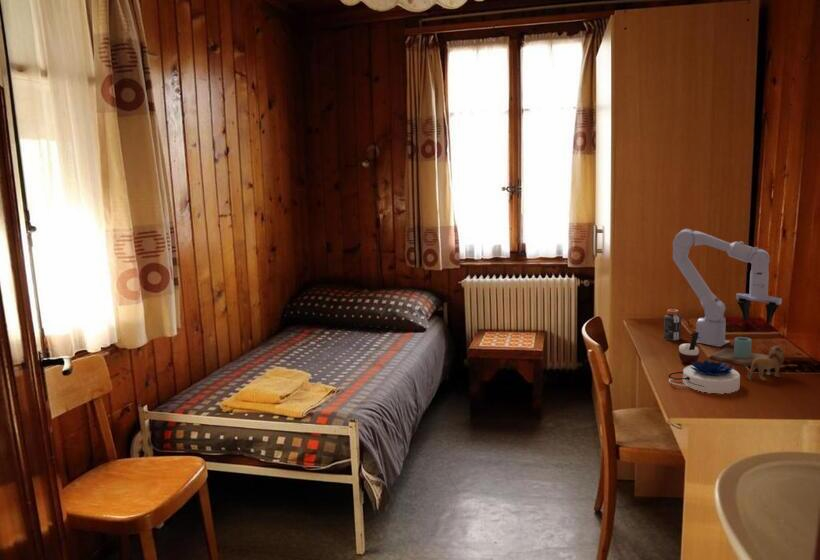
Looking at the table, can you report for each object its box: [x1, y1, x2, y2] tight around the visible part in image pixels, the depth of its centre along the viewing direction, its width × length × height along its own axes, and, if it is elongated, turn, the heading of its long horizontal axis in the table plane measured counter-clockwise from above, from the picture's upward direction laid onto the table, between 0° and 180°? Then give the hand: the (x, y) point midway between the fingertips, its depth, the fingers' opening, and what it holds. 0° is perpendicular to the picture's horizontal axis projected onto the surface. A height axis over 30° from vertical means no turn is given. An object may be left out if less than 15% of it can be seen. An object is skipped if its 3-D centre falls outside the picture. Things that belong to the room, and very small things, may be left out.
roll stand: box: [709, 347, 769, 368], centre depth 207 cm, size 16×12×5 cm
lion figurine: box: [746, 345, 785, 381], centre depth 189 cm, size 15×5×9 cm, turn 119°
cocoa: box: [678, 331, 700, 365], centre depth 206 cm, size 10×6×12 cm
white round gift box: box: [668, 359, 741, 395], centre depth 186 cm, size 7×16×20 cm
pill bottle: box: [663, 308, 682, 341], centre depth 234 cm, size 6×6×11 cm
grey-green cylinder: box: [733, 336, 753, 358], centre depth 207 cm, size 5×5×6 cm
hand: (757, 321), depth 218 cm, fingers open, 7 cm apart
